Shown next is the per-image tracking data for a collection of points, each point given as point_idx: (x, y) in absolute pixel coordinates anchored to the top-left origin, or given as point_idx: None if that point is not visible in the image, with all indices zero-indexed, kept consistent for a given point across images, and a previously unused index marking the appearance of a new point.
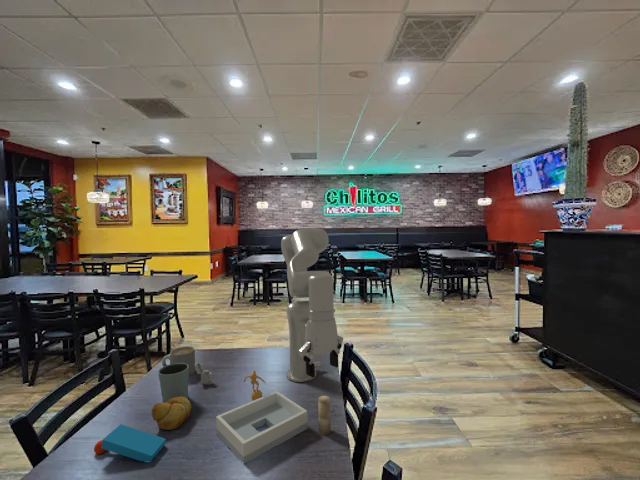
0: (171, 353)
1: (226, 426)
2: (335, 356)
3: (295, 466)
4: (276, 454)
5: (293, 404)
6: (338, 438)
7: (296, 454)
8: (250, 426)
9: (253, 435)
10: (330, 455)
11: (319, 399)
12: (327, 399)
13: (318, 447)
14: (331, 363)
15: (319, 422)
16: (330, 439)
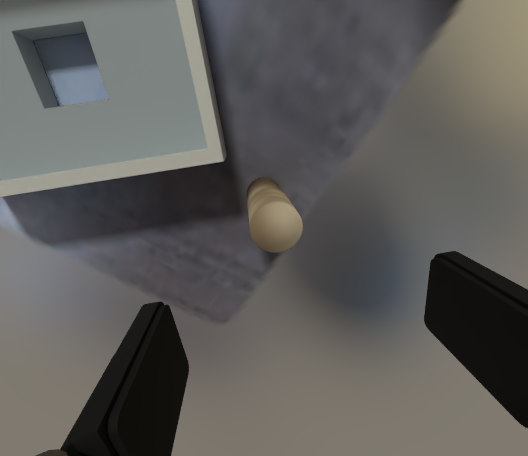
0: None
1: None
2: (516, 410)
3: (134, 264)
4: (99, 205)
5: (193, 75)
6: None
7: (150, 232)
8: (9, 43)
9: (18, 111)
10: (224, 275)
11: (257, 222)
12: (285, 240)
13: (213, 240)
14: (442, 283)
15: (247, 202)
16: None
